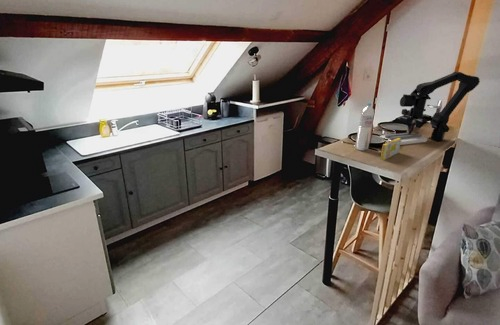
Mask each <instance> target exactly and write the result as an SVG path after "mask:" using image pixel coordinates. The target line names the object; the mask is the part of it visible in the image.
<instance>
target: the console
mask: <svg viewBox="0 0 500 325" xmlns="http://www.w3.org/2000/svg"><path fill="white" fill-rule="evenodd" d="M379 136H380V137H382V138H385V139H388V140H391V141H392V140H394V139H397V138H401V143H400V146H403V145H411V144H420V143H426V142H427V141H428V137H424V136H423V134H421V133H419V134H414V135H413V134H412V135H410V133H408V132H402V133H401V132H400V133H394V134H384V135H383V134H382V135H379Z"/></svg>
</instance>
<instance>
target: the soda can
mask: <svg viewBox="0 0 500 325" xmlns="http://www.w3.org/2000/svg"><path fill="white" fill-rule="evenodd" d="M373 133H374V124H373V125H372V131H371V136H370V141H369V142H370V143H371V142H372V138H373V137H372V136H373Z"/></svg>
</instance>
